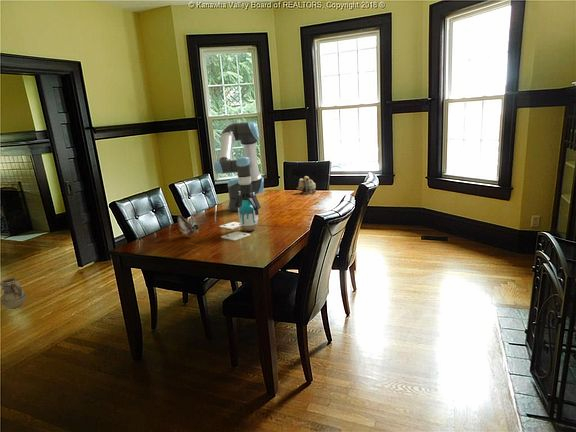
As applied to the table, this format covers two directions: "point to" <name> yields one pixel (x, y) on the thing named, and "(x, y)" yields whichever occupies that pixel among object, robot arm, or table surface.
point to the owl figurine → (306, 186)
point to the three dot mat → (231, 225)
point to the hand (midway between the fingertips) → (248, 219)
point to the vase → (247, 216)
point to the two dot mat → (235, 235)
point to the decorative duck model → (186, 226)
